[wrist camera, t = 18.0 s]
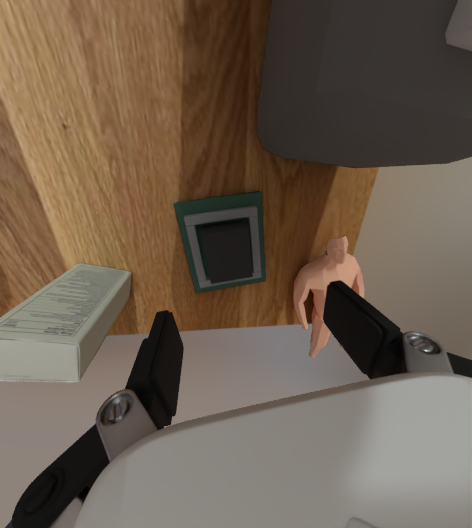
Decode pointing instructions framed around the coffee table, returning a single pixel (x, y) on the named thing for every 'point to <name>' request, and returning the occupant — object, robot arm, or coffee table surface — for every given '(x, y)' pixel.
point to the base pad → (219, 212)
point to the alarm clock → (368, 82)
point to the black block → (227, 251)
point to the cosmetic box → (62, 325)
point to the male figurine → (325, 287)
